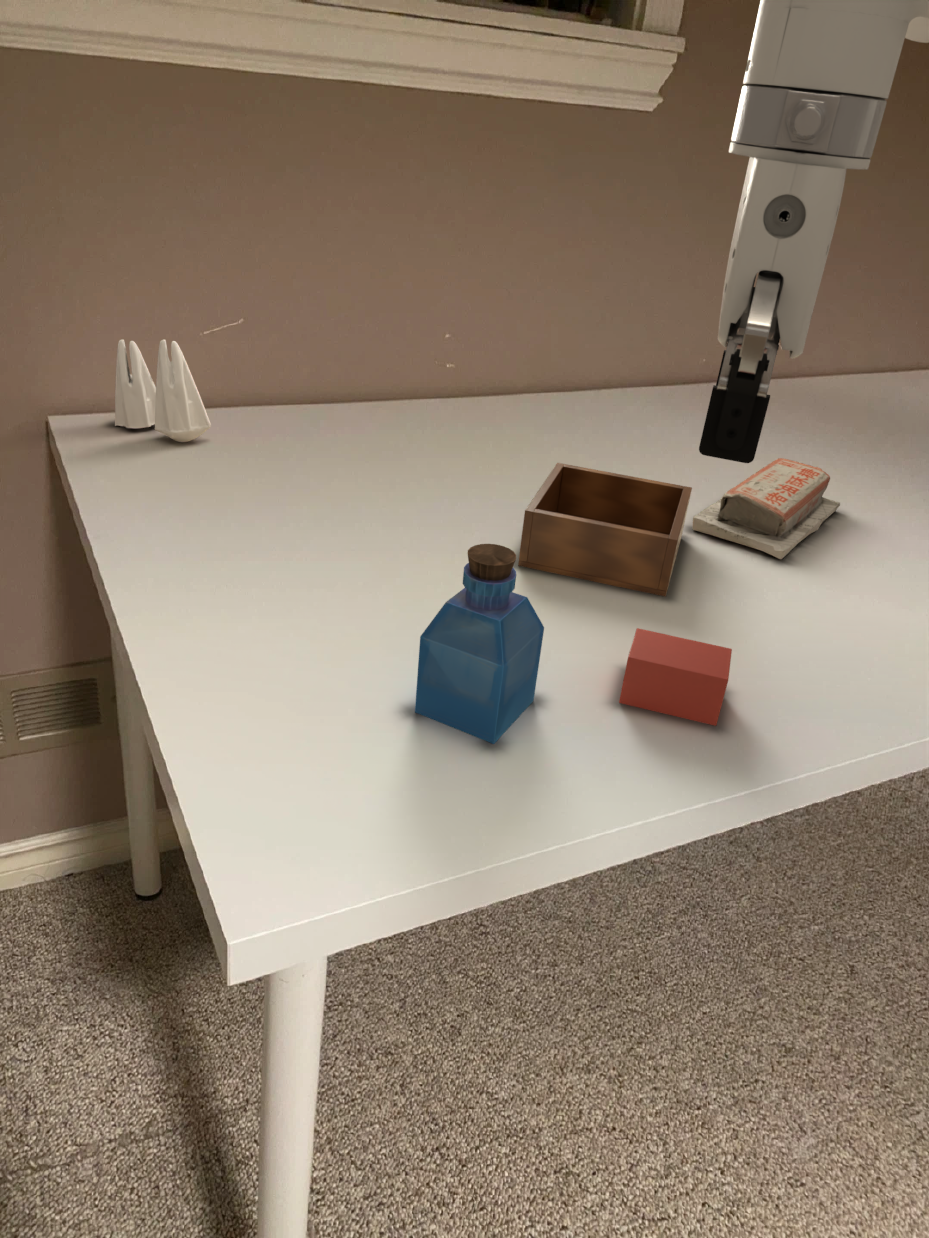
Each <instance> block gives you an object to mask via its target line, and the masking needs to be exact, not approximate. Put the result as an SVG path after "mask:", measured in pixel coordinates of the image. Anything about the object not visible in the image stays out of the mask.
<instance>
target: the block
mask: <svg viewBox="0 0 929 1238" xmlns="http://www.w3.org/2000/svg"><path fill="white" fill-rule="evenodd" d="M732 652H733V649H732V648H729V647H726V646H721V645H716V644H711V643H706V642H702V641H698V640H693V639H689V638H684V637H679V636H675V635H670V634H666V633H661V632H657V631H652V630H647V629H643V628H636V630H635V633H634V636H633V640H632V643H631V646H630V649H629V652H628V656H627V661H626V666H625V670H624V676H623V679H622V680H623V681H622V686H621V690H620V695H619V700H618V703H619V704H622V705H626V706H631V707H635V708H638V709H643V710H648V711H651V712H656V713H661V714H664V715H668V716H673V717H676V718H680V719H685V720H690V721H693V722H698V723H701V724H702V723H703V724H706V725H711V726H715V727H717V725H718V721H719V717H720V713H721V710H722V706H723V702H724V698H725V696H726V695H725V694H726V691H727V687H728V683H729V677H730V671H731V670H730V669H731V661H732Z"/></svg>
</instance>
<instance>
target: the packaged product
mask: <svg viewBox="0 0 929 1238" xmlns="http://www.w3.org/2000/svg"><path fill="white" fill-rule="evenodd" d="M830 480H831V476H830V474H829V473H827V472H826V471H824V470H823V469H822V468H820V467H818V466H813V465H810V464H806V463H803V462H799V461H797V460H792V459H788V458H783V457H778V458H777V459H775V460H773V461H771V462H770V463H768V464H766V466H764V467H762V468H761V469H759V470H757V471H756V472H755V473H753V474H751V475H750V476H748V477H747V478H745V479H744V480H743V481H741V482H740V483H738V484H737V485H736V486H734V487H732V488H730V489H729V490H727V491H726V492H725V493H724V494H722V496H721V498H720V499H719V500H717V501H716V502H715V503H712V504H711V505H709V506H707V507H706V508H704V509H703V510H702V511H701V510H700V512H699V513H697V514H695V515H693V516H692V530H693V531H697V532H699V533H703V534H706V535H709V536H713V537H716V538H719V539H723V540H726V541H730V542H732V543H736V544H740V545H742V546H746V547H749V548H752V549H755V550H757V551H761V552H763V553H766V554H767V555H770V556H773V557H775V558H776V559H778V560H783V558H785V557H786V556H787V555H788V554H789V553H790V552H791V551H792V549H794V548H795V547H796V546H797V545H799V543H801V541H803V540H805V538H807V537H808V536H809V535H811V534H813V533H814V532H817V531H819V529H820V527H821V525H822V524H823V523H824V521H826V520H827V519H828V518H829V517H830V516H831V515H832V514H834V512H836V510H837V509H839V507H840V506H841V502H839V501H837V500H836V501H835V500H832V499H829V498H826V497H824V496H823V495H824V493H825V492H826V490H827V488H828V486H829V483H830Z"/></svg>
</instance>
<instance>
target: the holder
mask: <svg viewBox="0 0 929 1238" xmlns="http://www.w3.org/2000/svg"><path fill="white" fill-rule="evenodd" d="M692 490H693V487H691V486H686V485H681V484H675V483H670V482H664V481H659V480H653V479H647V478H643V477H638V476H631V475H626V474H620V473H616V472H610V471H605V470H600V469H593V468H589V467H583V466H577V465H572V464H566V463H561V462H556V464H555V465H554V467H553V468H552V470H551V471H550V473H549V474H548V476H546V477H545V480H544V481H543V482H542V484H541V486H540V487H539V488H538V490H537V491H536V493H535V495H534V496H533V498H532V499H531V501H530V502H529V504H528V505H527V506H526V508H525V509H524V515H523V524H522V531H521V538H520V547H519V555H518V563H517V566H518V567H523V568H528V569H532V570H536V571H541V572H547V573H551V574H556V575H561V576H566V577H569V578H575V579H580V580H585V581H589V582H593V583H598V584H603V585H608V586H614V587H618V588H623V589H627V590H632V591H637V592H641V593H645V594H646V593H647V594H651V595H655V596H661V597H667V594H668V589H669V586H670V582H671V579H672V575H673V572H674V567H675V563H676V559H677V556H678V552H679V548H680V544H681V540H682V536H683V533H684V532H683V531H684V527H685V523H686V518H687V513H688V510H689V504H690V499H691V496H692Z"/></svg>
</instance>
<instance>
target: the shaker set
mask: <svg viewBox="0 0 929 1238" xmlns="http://www.w3.org/2000/svg"><path fill="white" fill-rule="evenodd" d="M128 343H129V344H128V345H129V346H128V348H129V349H128V350H129V359H128V354H127V347H126V343H125V339H123V338H122V339H119V340H118V343H117V347H116V348H117V349H116V361H115V363H116V364H115V384H114V385H115V386H114V387H115V388H114V389H115V390H114V427H116V426H120V427H125V428H126V429H143V428H144V429H145V428H149V427H152V426H154V430H155V431H156V432H159V433H161V434H163V435H164V436H166V437H168V438H169V439H171V440H173V441H174V442H175V441H176V442H178V443H187V442H190V441H193V440H196V439H197V438H199V437H200V436H202V435H204V433H205V432H206V431H208V430H210V428H211V427H212V423H211V421H210V418H209V416H208V415H209V414H208V413H207V410H206V408H205V404H204V402H203V400H202V397H201V395H200V392H199V390H198V387H197V384H196V382H195V380H194V377H193V375H192V372H191V370H190V367H189V365H188V363H187V360H186V358H185V356H184V353H183V350H182V349H181V347H180V345H179V344H178V342H177V341H175V340H172V341H171V342H170V352H171V353H170V357H171V359H170V357H169V350H168V346H167V340H166V339H161V340H159V344H158V352H157V366H156V377H155V378H156V381H155V382H154V379H153V378H152V375H151V373H150V371H149V368H148V366H147V363H146V361H145V358H144V357H143V354H142V352H141V350H140V348H139V346H138V344H137V343H136V342H135V341H134V340H130V341H129V342H128ZM128 360H129V361H130V366H129V361H128ZM130 369H131V371H130Z"/></svg>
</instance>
